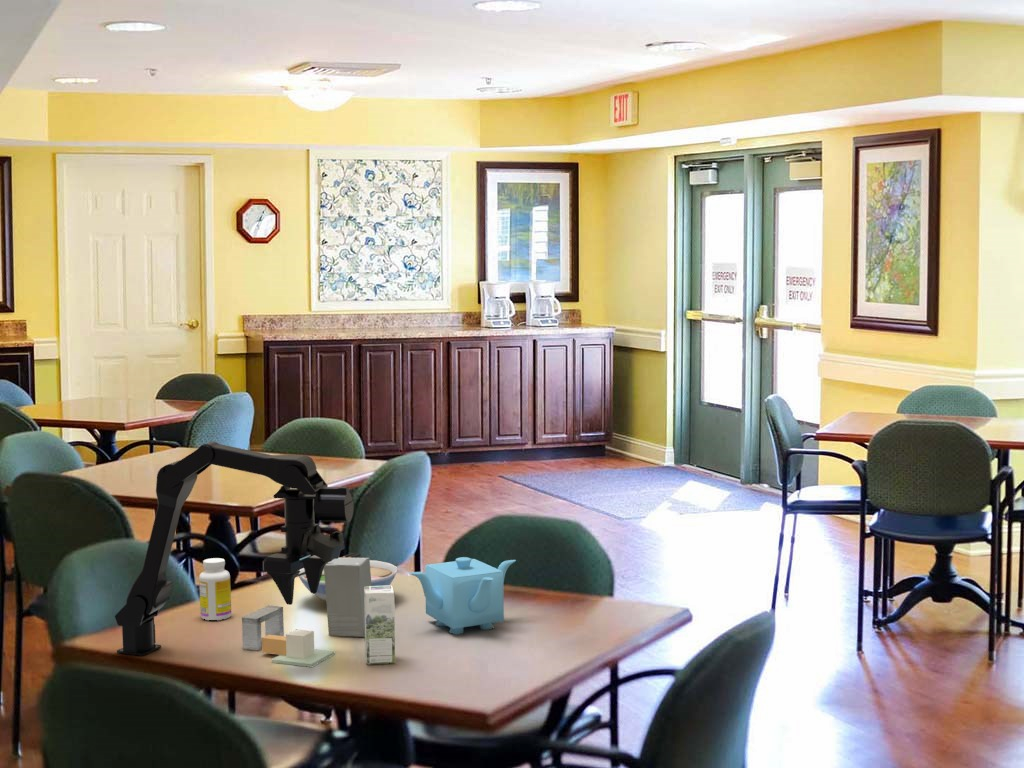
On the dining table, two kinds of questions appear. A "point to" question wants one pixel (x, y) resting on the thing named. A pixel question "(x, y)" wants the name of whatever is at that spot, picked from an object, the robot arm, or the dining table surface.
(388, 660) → the syrup box
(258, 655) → the dining table surface
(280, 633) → the grey bridge block
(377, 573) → the ramen bowl
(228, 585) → the supplement bottle
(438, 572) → the teakettle
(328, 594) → the skincare box
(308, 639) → the plug
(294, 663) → the pad
